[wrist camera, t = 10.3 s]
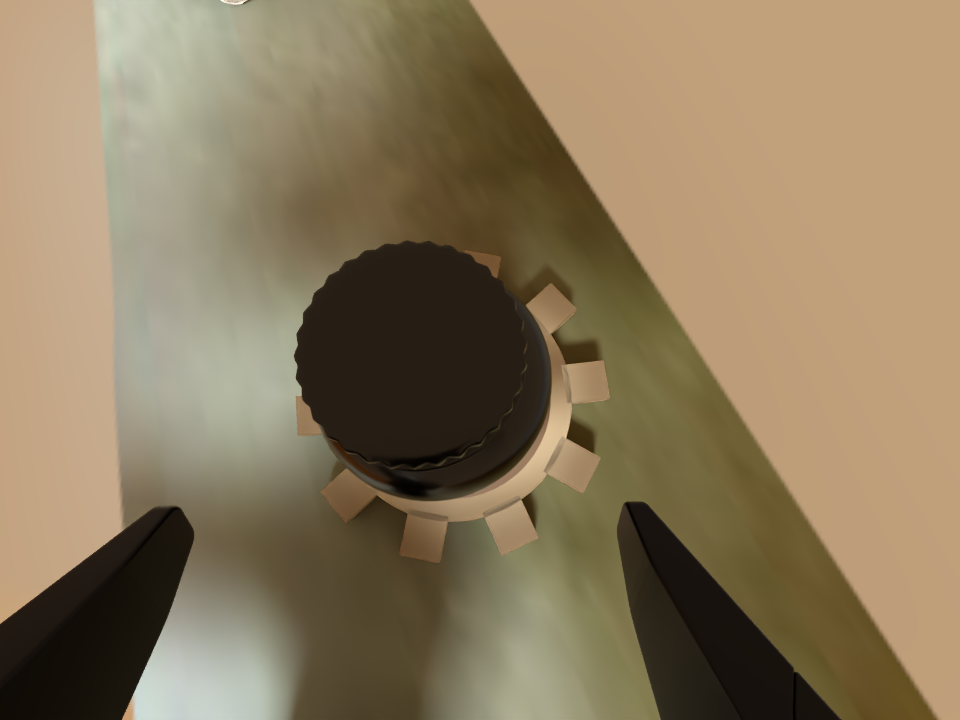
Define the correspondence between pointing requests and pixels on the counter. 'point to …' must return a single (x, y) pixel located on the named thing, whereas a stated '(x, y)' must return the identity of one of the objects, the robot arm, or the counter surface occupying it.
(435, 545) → the sprocket wheel
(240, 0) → the watch
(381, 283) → the supplement bottle
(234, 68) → the counter surface
